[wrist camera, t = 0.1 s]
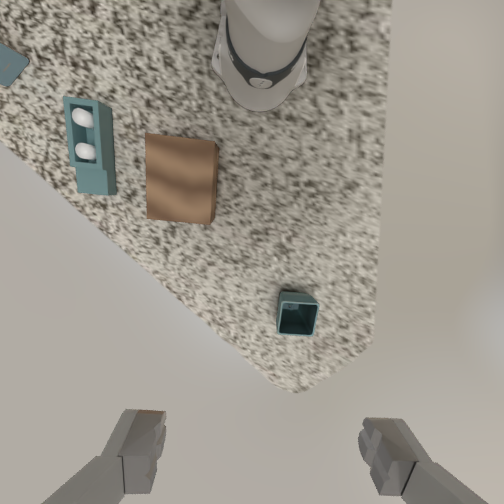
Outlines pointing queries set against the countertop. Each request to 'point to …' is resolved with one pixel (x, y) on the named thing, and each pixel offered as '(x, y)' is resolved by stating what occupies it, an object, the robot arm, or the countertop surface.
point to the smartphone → (10, 64)
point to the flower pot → (296, 314)
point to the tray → (97, 138)
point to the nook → (181, 178)
